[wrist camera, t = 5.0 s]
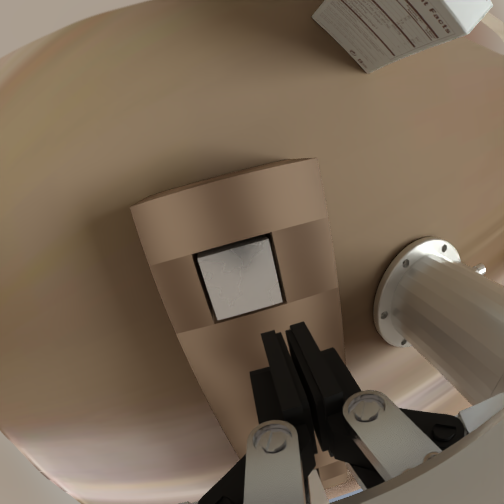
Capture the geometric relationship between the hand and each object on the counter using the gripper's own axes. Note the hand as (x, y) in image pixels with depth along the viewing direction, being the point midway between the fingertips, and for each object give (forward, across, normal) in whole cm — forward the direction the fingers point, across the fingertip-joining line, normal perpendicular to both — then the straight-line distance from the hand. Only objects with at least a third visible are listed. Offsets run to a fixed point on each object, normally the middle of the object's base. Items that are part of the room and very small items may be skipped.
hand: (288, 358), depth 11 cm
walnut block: (+14, +1, +13) cm, 19 cm away
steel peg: (+13, +1, -1) cm, 13 cm away
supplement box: (+14, -15, -18) cm, 27 cm away
